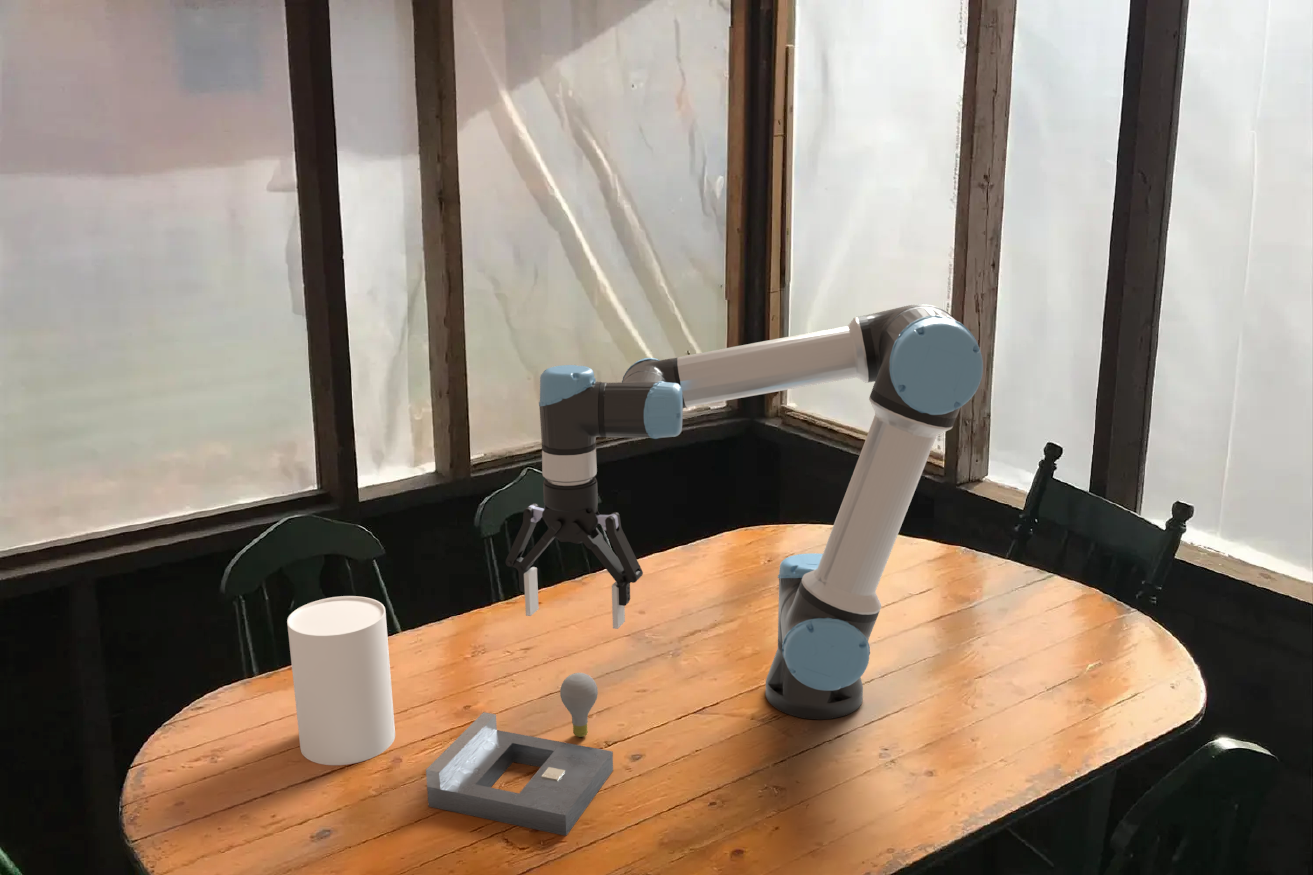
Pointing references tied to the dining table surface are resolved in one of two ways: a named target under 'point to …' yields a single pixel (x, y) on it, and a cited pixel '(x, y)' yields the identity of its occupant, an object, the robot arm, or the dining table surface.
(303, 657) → the canister
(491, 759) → the rail plate
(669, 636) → the dining table surface
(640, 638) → the dining table surface
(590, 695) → the light bulb
